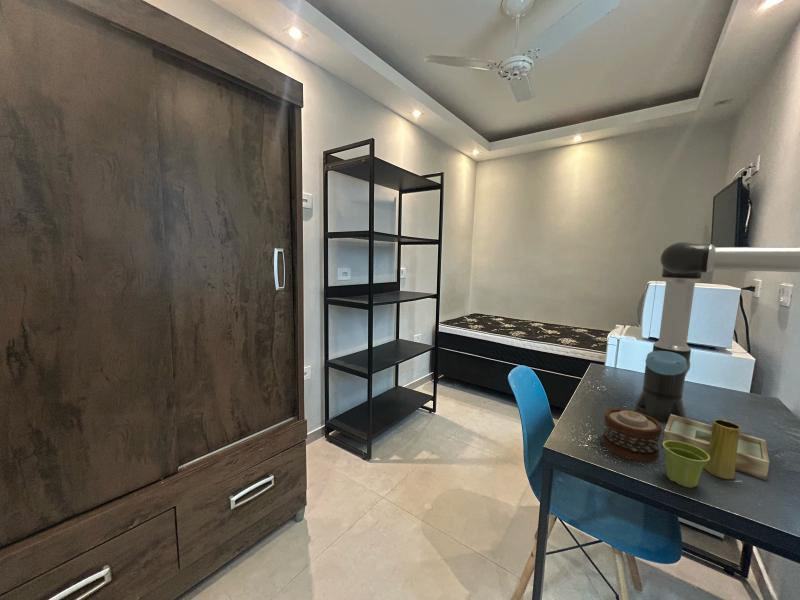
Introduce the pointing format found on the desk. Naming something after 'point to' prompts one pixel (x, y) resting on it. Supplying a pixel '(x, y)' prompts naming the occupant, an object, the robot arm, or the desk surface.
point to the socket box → (698, 434)
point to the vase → (723, 449)
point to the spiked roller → (632, 434)
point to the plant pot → (684, 462)
